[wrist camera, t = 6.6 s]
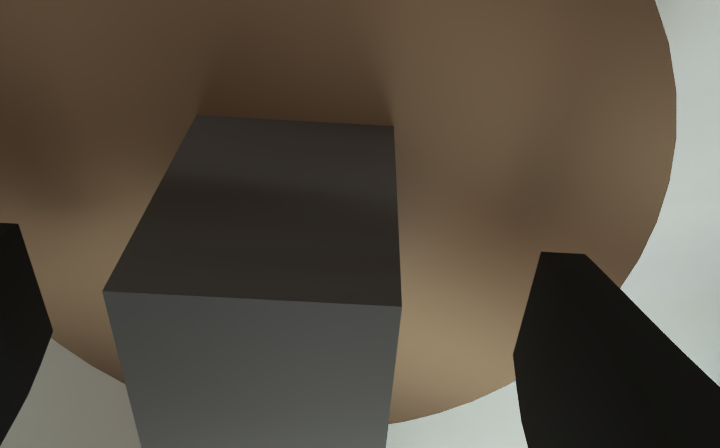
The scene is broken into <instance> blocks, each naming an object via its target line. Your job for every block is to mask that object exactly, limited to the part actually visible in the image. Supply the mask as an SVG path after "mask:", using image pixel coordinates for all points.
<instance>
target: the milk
mask: <svg viewBox="0 0 720 448" xmlns="http://www.w3.org/2000/svg"><path fill="white" fill-rule="evenodd" d="M0 448H141V444H140V440H139V436H138V432H137V428H136V424H135V420H134V416H133V412H132V408H131V404H130V400H129V397H128V393H127V389H126V385H125V384H124V383H122V382H120V381H118V380H116V379H115V378H113V377H111V376H109V375H107V374H106V373H104V372H102V371H100V370H98V369H97V368H95V367H93V366H91V365H90V364H88V363H87V362H85V361H84V360H82V359H81V358H79V357H78V356H76V355H75V354H73V353H72V352H70V351H69V350H67V349H66V348H64V347H63V346H61V345H60V344H58V343H57V342H56V341H55V340H54V339H52V338H51V339H50V341H49V344H48V347H47V349H46V352H45V355H44V357H43V360H42V363H41V365H40V368H39V370H38V373H37V375H36V378H35V380H34V382H33V385H32V387H31V390H30V392H29V394H28V397H27V398H26V400H25V402H24V404H23V406H22V408H21V410H20V411H19V413H18V415H17V417H16V419H15V421H14V422H13V424H12V426H11V428H10V430H9V431H8V433H7V435H6V437H5V439H4V440H3V442H2V444H1V446H0Z"/></svg>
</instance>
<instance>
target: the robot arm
mask: <svg viewBox="0 0 720 448" xmlns="http://www.w3.org/2000/svg"><path fill="white" fill-rule="evenodd" d="M52 333H53V328H52V325H51V322H50V319H49V316H48V313H47V310H46V307H45V304H44V301H43V298H42V295H41V292H40V288H39V285H38V282H37V279H36V276H35V273H34V270H33V267H32V264H31V261H30V258H29V255H28V252H27V249H26V246H25V242H24V239H23V236H22V233H21V230H20V227H19V224H15V223H0V446H1V444H2V442H3V440H4V439H5V437H6V435H7V433H8V431H9V430H10V428H11V426H12V424H13V422H14V421H15V419H16V417H17V415H18V413H19V411H20V410H21V408H22V406H23V404H24V402H25V400H26V398H27V397H28V394H29V392H30V390H31V387H32V385H33V382H34V380H35V378H36V375H37V373H38V370H39V368H40V365H41V363H42V360H43V357H44V355H45V352H46V349H47V347H48V344H49V341H50V339H51V336H52ZM513 361H514V369H515V377H516V386H517V393H518V400H519V407H520V414H521V421H522V425H523V429H524V433H525V437H526V441H527V445H528V448H720V387H719V386H718V385H717V384H716V383H715V382H714V381H713V380H712V379H711V378H710V377H708V376H707V375H706V374H705V373H704V372H703V371H702V370H701V369H700V368H699V367H698V366H697V365H696V364H695V363H694V362H693V361H692V360H691V359H690V358H689V357H687V356H686V355H685V354H684V353H683V352H682V351H681V350H680V349H679V348H678V347H677V346H676V345H675V344H674V343H673V342H672V341H671V340H670V339H669V338H668V337H667V336H666V335H665V334H664V333H663V332H662V331H661V330H660V329H659V328H658V327H657V326H656V325H655V324H654V323H653V322H652V321H651V320H650V319H649V318H648V317H647V316H646V315H645V314H644V313H643V312H642V311H641V310H640V309H639V308H638V307H637V306H636V305H635V304H634V303H633V302H632V301H631V300H630V298H629V297H628V296H627V295H626V294H625V293H624V292H623V291H622V290H621V289H620V288H619V287H618V286H617V285H616V284H615V283H614V282H613V281H612V280H611V279H610V278H609V277H608V276H607V275H606V274H605V273H604V272H603V271H602V270H601V269H600V268H599V267H598V266H597V265H596V264H595V263H594V262H593V261H592V260H591V259H590V258H589V257H588V256H587V255H586V254H576V253H558V252H541V253H540V257H539V261H538V264H537V268H536V272H535V275H534V279H533V283H532V286H531V290H530V294H529V297H528V301H527V304H526V308H525V312H524V315H523V319H522V323H521V326H520V330H519V334H518V337H517V341H516V345H515V348H514V352H513Z"/></svg>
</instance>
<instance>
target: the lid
mask: <svg viewBox="0 0 720 448" xmlns="http://www.w3.org/2000/svg"><path fill="white" fill-rule="evenodd" d="M675 142H676V87H675V81H674V74H673V68H672V61H671V55H670V49H669V43H668V39H667V36H666V33H665V30H664V27H663V24H662V21H661V18H660V15H659V12H658V9H657V6H656V3H655V0H0V223H15V224H19V227H20V230H21V233H22V236H23V239H24V242H25V246H26V249H27V252H28V255H29V258H30V261H31V264H32V267H33V270H34V273H35V276H36V279H37V282H38V285H39V288H40V292H41V295H42V298H43V301H44V304H45V307H46V310H47V313H48V316H49V319H50V322H51V325H52V328H53V333H52V336H51V338H52V339H54V340H55V341H56V342H57V343H58V344H60V345H61V346H63V347H64V348H66V349H67V350H69V351H70V352H72V353H73V354H75V355H76V356H78V357H79V358H81V359H82V360H84V361H85V362H87V363H88V364H90V365H91V366H93V367H95V368H97V369H98V370H100V371H102V372H104V373H106V374H107V375H109V376H111V377H113V378H115V379H116V380H118V381H120V382H122V383H124V384H125V385H126V389H127V393H128V397H129V400H130V404H131V408H132V412H133V416H134V420H135V424H136V428H137V432H138V436H139V440H140V444H141V448H386V439H387V431H388V424H392V423H398V422H405V421H409V420H413V419H417V418H421V417H425V416H429V415H433V414H437V413H440V412H443V411H446V410H449V409H452V408H454V407H457V406H460V405H463V404H466V403H469V402H472V401H474V400H476V399H478V398H481V397H483V396H485V395H487V394H489V393H491V392H494V391H496V390H498V389H500V388H502V387H504V386H506V385H508V384H510V383H511V382H513V381H515V380H516V377H515V369H514V361H513V352H514V348H515V345H516V341H517V337H518V334H519V330H520V326H521V323H522V319H523V315H524V312H525V308H526V304H527V301H528V297H529V294H530V290H531V286H532V283H533V279H534V275H535V272H536V268H537V264H538V261H539V257H540V253H541V252H558V253H576V254H586V255H587V256H588V257H589V258H590V259H591V260H592V261H593V262H594V263H595V264H596V265H597V266H598V267H599V268H600V269H601V270H602V271H603V272H604V273H605V274H606V275H607V276H608V277H609V278H610V279H611V280H612V281H613V282H614V283H615V284H616V285H617V286H618V287H619V288H621V286H622V284H623V283H624V281H625V280H626V278H627V277H628V275H629V274H630V272H631V271H632V269H633V268H634V266H635V265H636V263H637V261H638V260H639V258H640V256H641V254H642V252H643V250H644V248H645V246H646V244H647V241H648V239H649V237H650V235H651V233H652V231H653V229H654V227H655V225H656V223H657V220H658V216H659V213H660V210H661V207H662V204H663V200H664V197H665V194H666V191H667V188H668V184H669V181H670V174H671V168H672V161H673V155H674V149H675Z"/></svg>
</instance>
